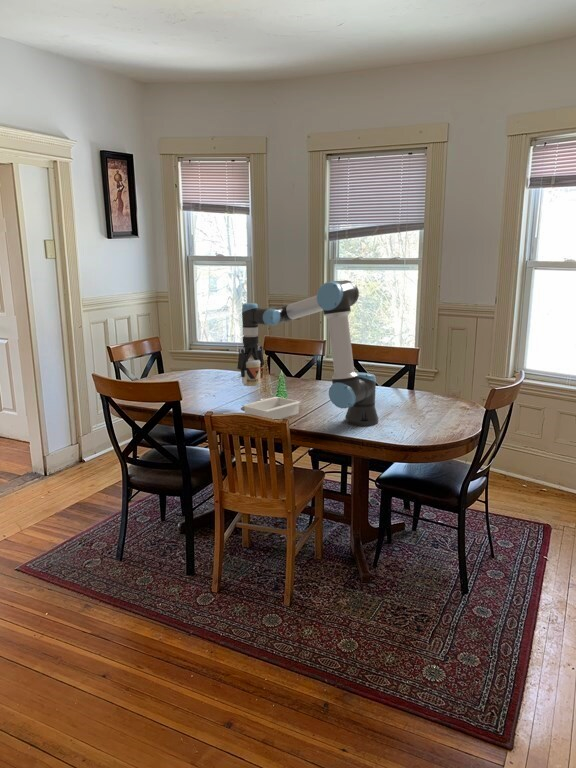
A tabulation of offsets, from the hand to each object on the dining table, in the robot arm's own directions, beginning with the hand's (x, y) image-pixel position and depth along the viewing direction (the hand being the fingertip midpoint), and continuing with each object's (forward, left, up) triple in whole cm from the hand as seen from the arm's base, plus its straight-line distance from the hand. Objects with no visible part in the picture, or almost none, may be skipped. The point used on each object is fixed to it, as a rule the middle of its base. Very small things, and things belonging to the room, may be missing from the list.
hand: (251, 381), depth 280 cm
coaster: (0, 0, -14) cm, 14 cm away
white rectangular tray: (-16, +2, -14) cm, 21 cm away
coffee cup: (0, 0, -2) cm, 2 cm away
